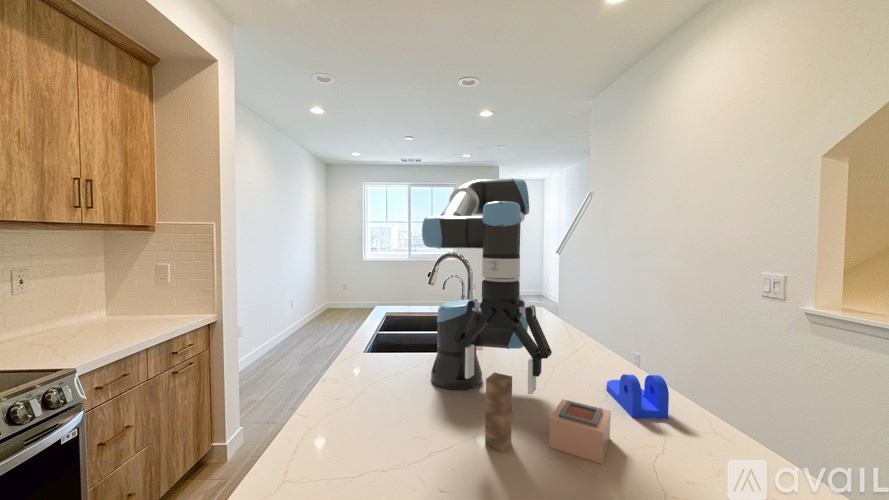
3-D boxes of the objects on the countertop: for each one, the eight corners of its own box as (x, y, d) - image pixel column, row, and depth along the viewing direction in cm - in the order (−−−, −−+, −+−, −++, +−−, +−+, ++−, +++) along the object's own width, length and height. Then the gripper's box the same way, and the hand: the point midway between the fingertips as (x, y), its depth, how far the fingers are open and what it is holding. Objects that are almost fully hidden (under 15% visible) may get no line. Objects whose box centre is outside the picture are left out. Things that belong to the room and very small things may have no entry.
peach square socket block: (549, 446, 72) (549, 414, 72) (561, 424, 81) (562, 396, 81) (602, 463, 67) (603, 429, 67) (609, 438, 75) (610, 408, 75)
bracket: (668, 419, 84) (669, 382, 84) (632, 418, 84) (633, 381, 84) (631, 387, 102) (632, 356, 102) (601, 386, 102) (602, 355, 102)
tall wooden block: (485, 446, 72) (486, 378, 72) (493, 437, 76) (494, 372, 75) (503, 453, 70) (504, 383, 70) (511, 443, 74) (512, 376, 73)
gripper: (438, 276, 75) (437, 376, 76) (558, 285, 62) (556, 406, 62) (456, 274, 81) (455, 366, 82) (569, 281, 68) (567, 391, 69)
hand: (499, 383), depth 72 cm, fingers open, 13 cm apart
